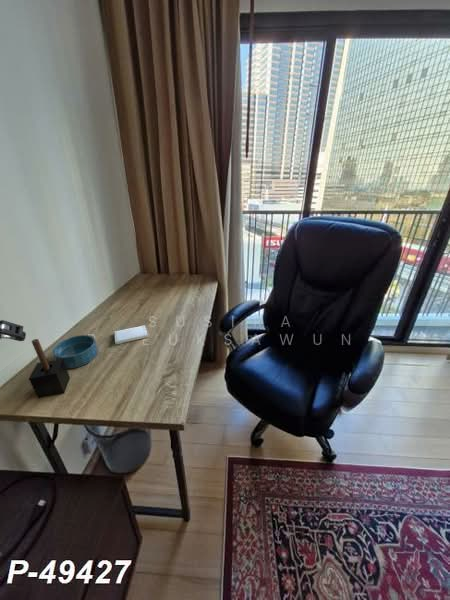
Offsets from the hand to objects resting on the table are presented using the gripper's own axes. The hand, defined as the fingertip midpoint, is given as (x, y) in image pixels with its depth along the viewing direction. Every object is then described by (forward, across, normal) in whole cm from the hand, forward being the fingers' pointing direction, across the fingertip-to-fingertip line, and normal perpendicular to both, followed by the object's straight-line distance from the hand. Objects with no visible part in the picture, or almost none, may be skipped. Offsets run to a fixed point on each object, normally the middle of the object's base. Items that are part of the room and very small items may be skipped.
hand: (3, 338), depth 59 cm
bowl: (+34, -2, +1) cm, 34 cm away
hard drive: (+43, -19, -7) cm, 47 cm away
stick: (+24, 0, +11) cm, 27 cm away
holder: (+24, 0, +11) cm, 27 cm away
